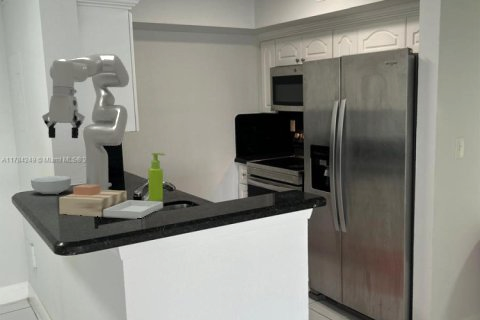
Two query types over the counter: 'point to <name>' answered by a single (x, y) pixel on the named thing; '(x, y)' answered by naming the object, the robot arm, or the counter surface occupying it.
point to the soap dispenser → (156, 180)
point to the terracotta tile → (86, 189)
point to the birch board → (91, 203)
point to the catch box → (132, 209)
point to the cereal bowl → (51, 184)
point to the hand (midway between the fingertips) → (63, 138)
